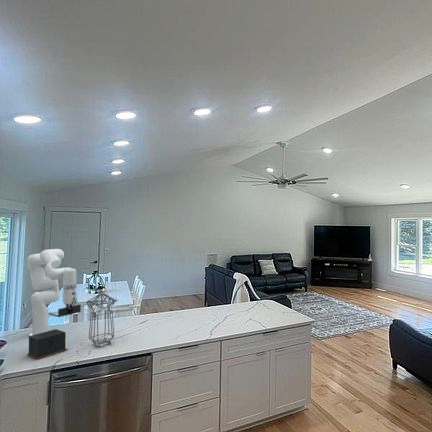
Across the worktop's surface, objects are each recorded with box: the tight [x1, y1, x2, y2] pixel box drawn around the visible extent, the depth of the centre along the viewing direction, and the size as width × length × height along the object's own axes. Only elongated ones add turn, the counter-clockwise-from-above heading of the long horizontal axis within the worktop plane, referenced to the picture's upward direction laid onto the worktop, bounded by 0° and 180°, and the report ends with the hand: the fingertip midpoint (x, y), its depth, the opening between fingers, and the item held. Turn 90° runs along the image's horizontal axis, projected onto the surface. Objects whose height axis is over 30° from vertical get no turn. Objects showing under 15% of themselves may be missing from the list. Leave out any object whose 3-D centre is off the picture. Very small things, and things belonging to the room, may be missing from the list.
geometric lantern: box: [85, 292, 119, 348], centre depth 226 cm, size 16×16×35 cm
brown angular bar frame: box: [48, 304, 82, 318], centre depth 228 cm, size 13×14×5 cm
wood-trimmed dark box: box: [27, 328, 67, 360], centre depth 212 cm, size 14×16×12 cm
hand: (69, 313), depth 225 cm, fingers closed on brown angular bar frame, 1 cm apart
